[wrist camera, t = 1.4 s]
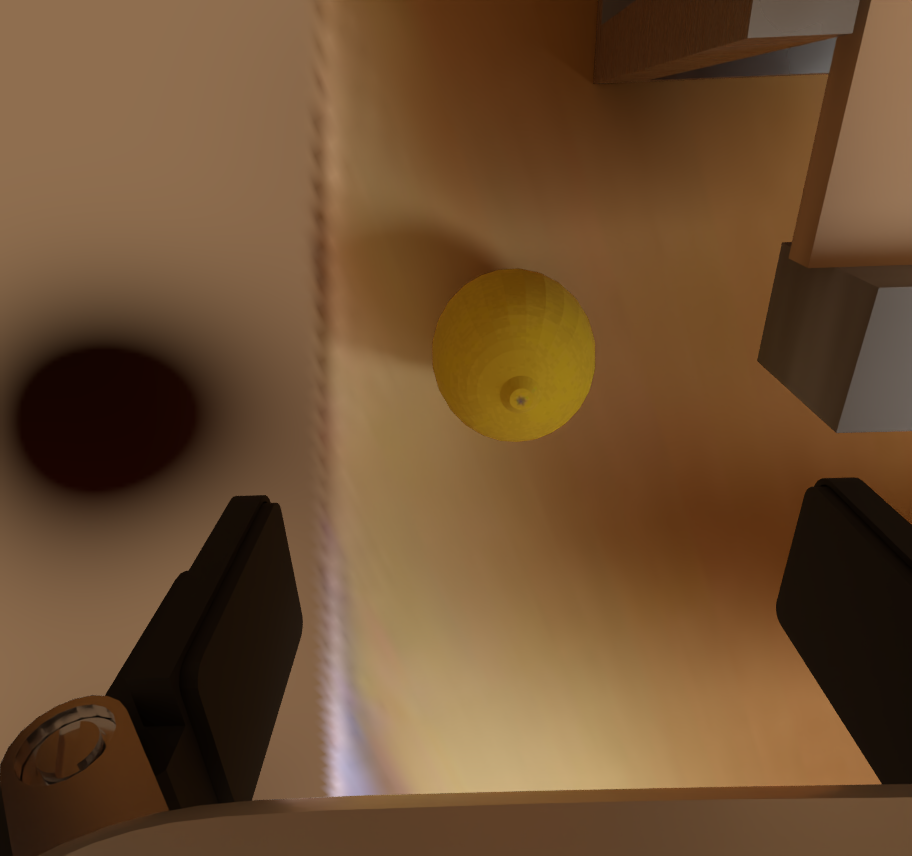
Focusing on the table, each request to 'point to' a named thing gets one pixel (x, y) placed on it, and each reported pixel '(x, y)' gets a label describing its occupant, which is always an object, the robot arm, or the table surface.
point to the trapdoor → (853, 240)
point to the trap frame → (717, 38)
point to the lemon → (513, 355)
